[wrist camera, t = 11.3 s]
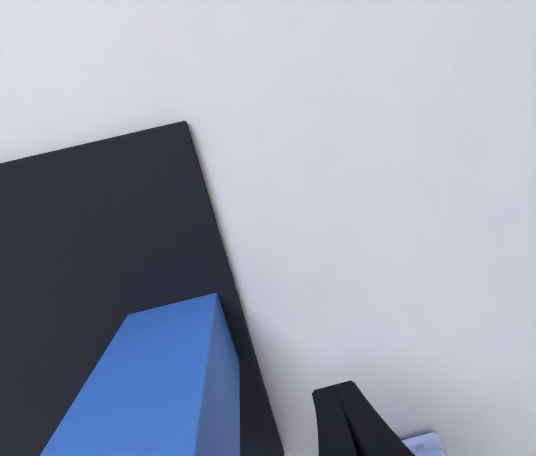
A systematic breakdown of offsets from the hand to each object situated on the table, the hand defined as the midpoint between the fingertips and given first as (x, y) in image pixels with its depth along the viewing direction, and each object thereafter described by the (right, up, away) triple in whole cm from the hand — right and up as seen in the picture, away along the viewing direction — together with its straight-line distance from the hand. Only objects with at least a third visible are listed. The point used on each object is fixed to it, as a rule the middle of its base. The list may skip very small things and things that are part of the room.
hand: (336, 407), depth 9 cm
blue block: (-6, 0, +5) cm, 8 cm away
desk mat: (-11, -1, +5) cm, 12 cm away
